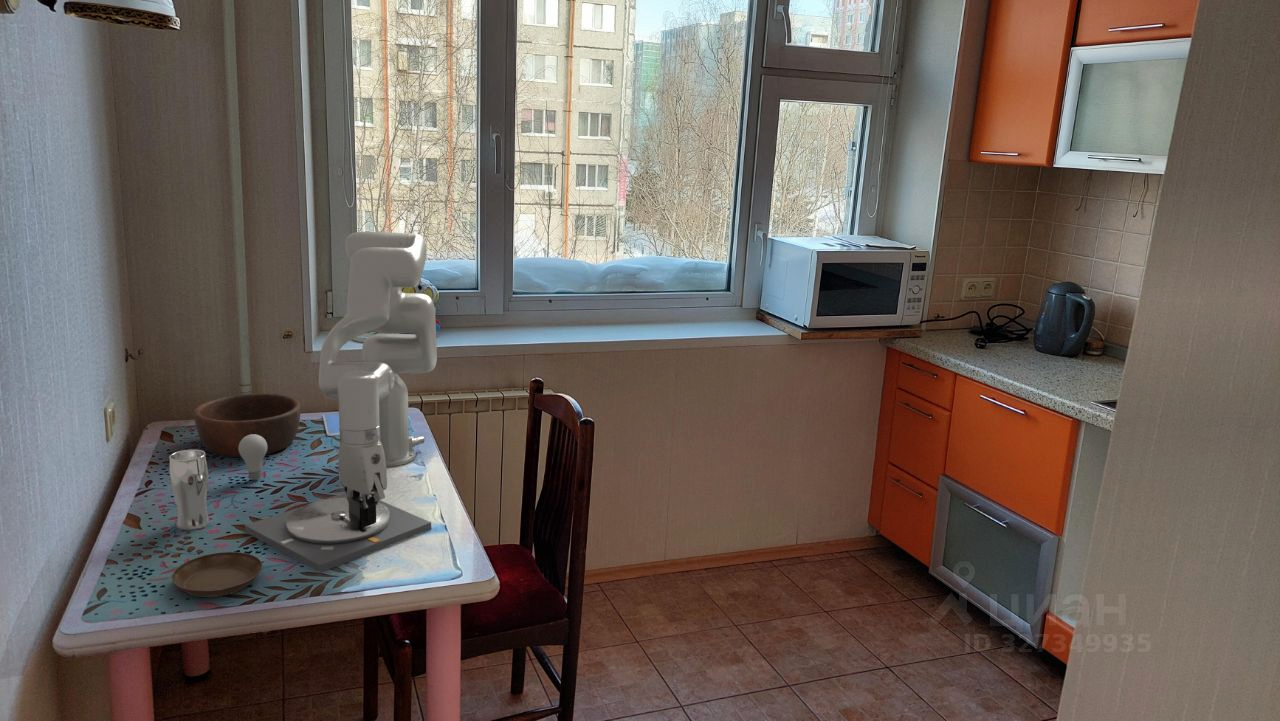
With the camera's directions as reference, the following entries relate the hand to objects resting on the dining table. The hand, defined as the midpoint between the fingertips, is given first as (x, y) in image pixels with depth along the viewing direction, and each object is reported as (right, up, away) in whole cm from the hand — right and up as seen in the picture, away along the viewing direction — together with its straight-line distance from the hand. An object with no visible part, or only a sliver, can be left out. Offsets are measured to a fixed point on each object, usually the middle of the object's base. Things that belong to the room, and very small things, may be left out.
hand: (362, 521), depth 182 cm
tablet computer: (-25, +14, +70) cm, 76 cm away
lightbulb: (-33, +4, +29) cm, 44 cm away
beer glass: (-36, -2, +5) cm, 37 cm away
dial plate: (-6, -3, +4) cm, 8 cm away
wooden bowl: (-44, +10, +51) cm, 69 cm away
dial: (-6, -1, +4) cm, 7 cm away
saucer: (-20, -8, -18) cm, 28 cm away
